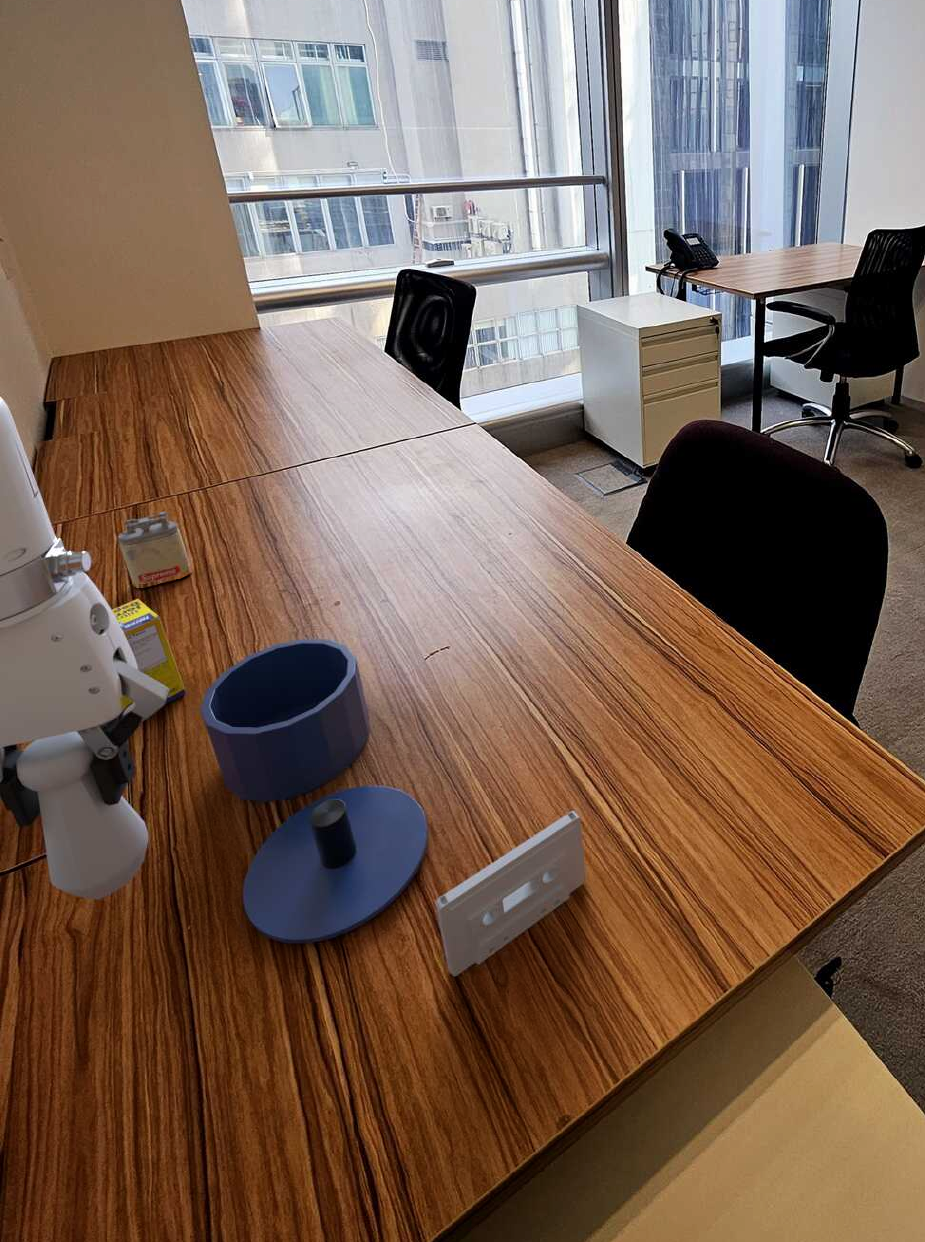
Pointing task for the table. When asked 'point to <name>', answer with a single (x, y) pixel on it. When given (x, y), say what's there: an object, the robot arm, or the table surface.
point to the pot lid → (335, 864)
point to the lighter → (153, 549)
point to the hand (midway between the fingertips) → (77, 797)
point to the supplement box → (149, 647)
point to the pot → (287, 719)
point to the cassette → (511, 894)
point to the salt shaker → (81, 819)
